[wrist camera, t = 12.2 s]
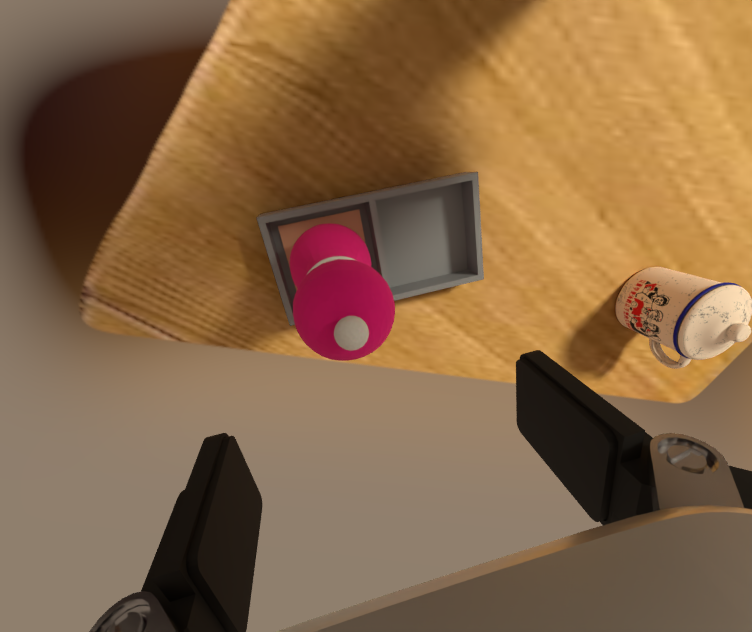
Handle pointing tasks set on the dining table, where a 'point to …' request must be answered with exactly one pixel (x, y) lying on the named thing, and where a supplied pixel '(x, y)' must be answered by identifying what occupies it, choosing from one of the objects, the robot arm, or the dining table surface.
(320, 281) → the pepper mill
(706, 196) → the dining table surface
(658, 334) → the teacup with lid
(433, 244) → the tray
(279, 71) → the dining table surface
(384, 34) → the dining table surface
